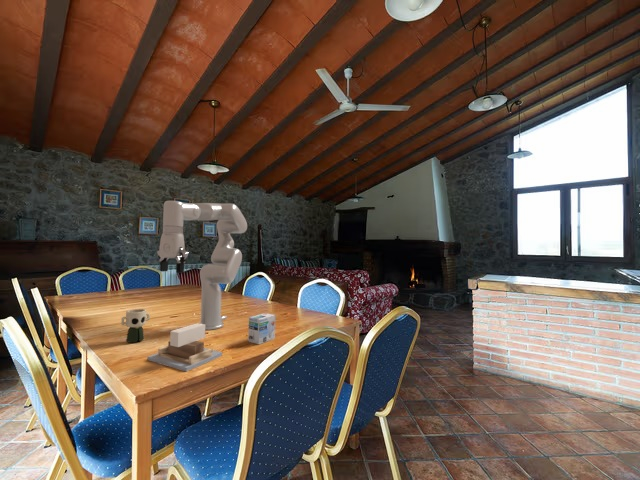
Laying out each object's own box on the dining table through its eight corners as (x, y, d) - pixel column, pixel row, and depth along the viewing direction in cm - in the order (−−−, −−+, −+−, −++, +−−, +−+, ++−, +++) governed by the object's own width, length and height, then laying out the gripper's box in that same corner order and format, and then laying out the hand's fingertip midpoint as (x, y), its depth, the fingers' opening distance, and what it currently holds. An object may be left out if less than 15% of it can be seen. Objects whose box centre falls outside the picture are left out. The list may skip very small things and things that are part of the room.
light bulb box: (258, 345, 124) (259, 319, 124) (247, 341, 127) (248, 317, 128) (275, 338, 133) (276, 314, 133) (264, 335, 136) (265, 312, 137)
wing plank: (197, 336, 114) (197, 323, 114) (204, 337, 112) (205, 324, 113) (170, 345, 103) (170, 331, 103) (178, 347, 102) (178, 332, 102)
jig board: (185, 346, 120) (185, 343, 120) (222, 355, 111) (222, 352, 111) (147, 359, 105) (147, 356, 105) (186, 371, 97) (186, 367, 97)
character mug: (124, 346, 118) (125, 314, 118) (117, 342, 122) (118, 311, 122) (152, 339, 127) (153, 309, 127) (144, 336, 131) (145, 307, 131)
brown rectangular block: (177, 351, 111) (178, 338, 111) (203, 355, 107) (203, 342, 107) (168, 355, 107) (168, 341, 107) (194, 360, 103) (194, 346, 103)
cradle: (180, 347, 115) (180, 341, 115) (212, 355, 108) (212, 349, 108) (158, 355, 106) (158, 348, 106) (191, 365, 99) (191, 357, 99)
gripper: (150, 230, 122) (149, 271, 122) (179, 230, 115) (178, 274, 114) (167, 231, 129) (165, 270, 129) (195, 231, 121) (194, 272, 121)
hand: (171, 272), depth 121 cm, fingers open, 9 cm apart
